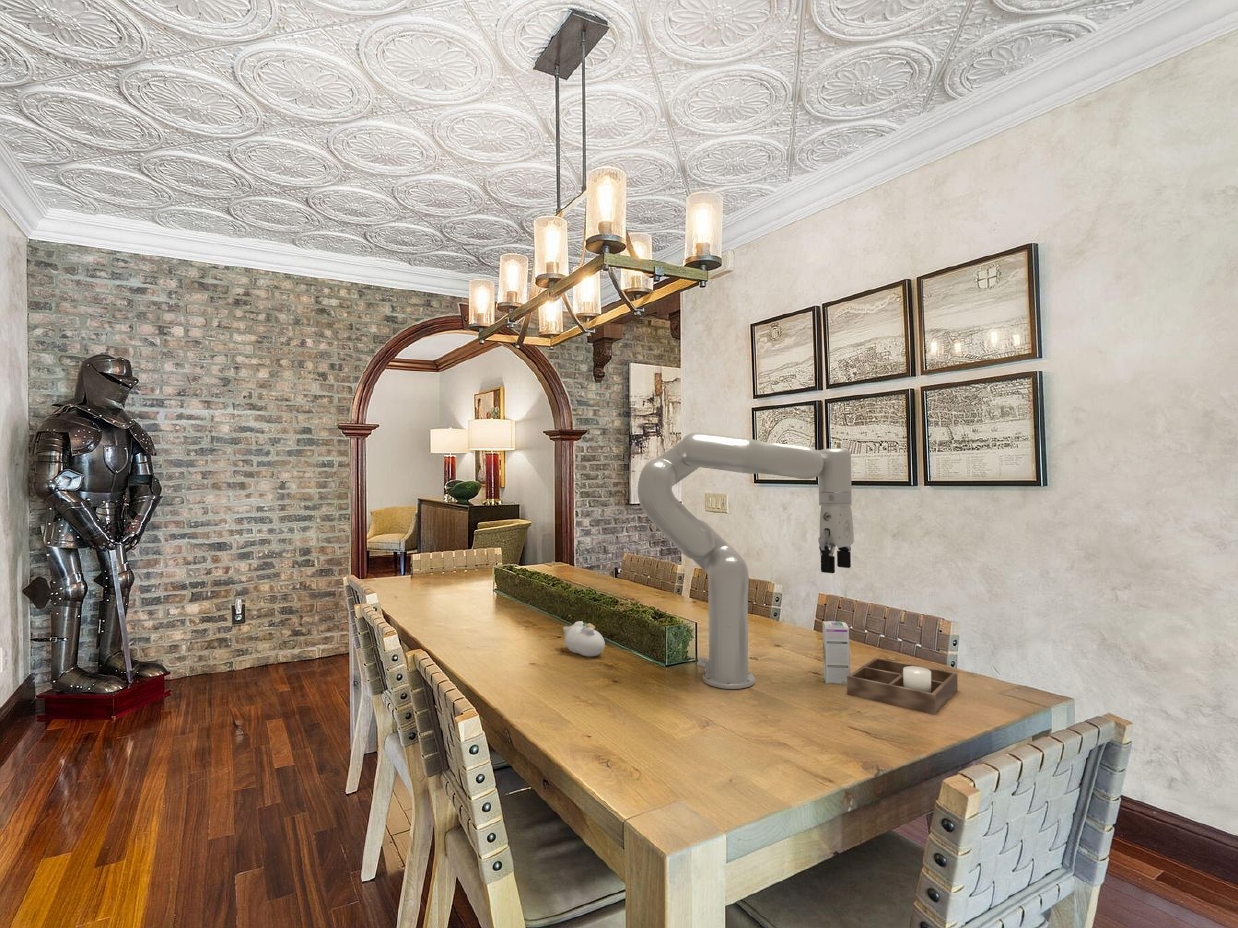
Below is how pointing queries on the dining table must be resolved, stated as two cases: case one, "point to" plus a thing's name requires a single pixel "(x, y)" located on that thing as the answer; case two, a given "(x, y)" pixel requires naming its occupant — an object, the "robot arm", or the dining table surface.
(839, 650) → the grey tall block
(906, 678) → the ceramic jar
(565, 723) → the dining table surface
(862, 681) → the tray
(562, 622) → the dining table surface
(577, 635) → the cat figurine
